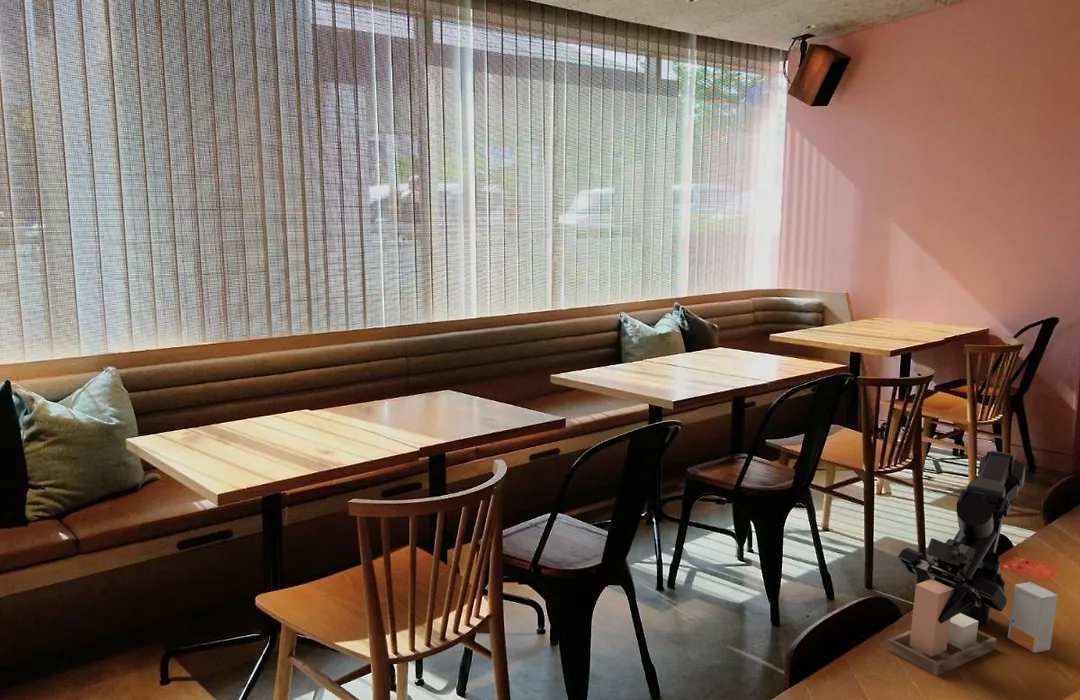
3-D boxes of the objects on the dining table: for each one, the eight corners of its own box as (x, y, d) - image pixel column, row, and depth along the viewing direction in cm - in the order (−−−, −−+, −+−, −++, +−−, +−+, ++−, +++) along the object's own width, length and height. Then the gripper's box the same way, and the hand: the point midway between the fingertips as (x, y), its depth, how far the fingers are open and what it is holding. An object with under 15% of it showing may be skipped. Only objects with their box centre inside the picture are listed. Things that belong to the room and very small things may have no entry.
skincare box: (1005, 642, 160) (1013, 583, 158) (1022, 638, 162) (1029, 581, 160) (1034, 658, 155) (1042, 598, 153) (1050, 654, 156) (1059, 594, 154)
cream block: (950, 634, 161) (953, 609, 160) (975, 645, 157) (978, 621, 156) (934, 640, 158) (937, 616, 157) (959, 652, 154) (962, 627, 153)
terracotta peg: (924, 638, 156) (930, 579, 154) (946, 650, 152) (953, 588, 150) (909, 645, 153) (916, 584, 151) (931, 656, 150) (939, 594, 148)
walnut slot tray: (944, 630, 164) (946, 616, 164) (994, 653, 156) (996, 639, 155) (885, 654, 155) (887, 639, 154) (936, 680, 146) (937, 665, 146)
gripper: (908, 507, 158) (865, 573, 155) (1005, 541, 143) (961, 616, 139) (929, 538, 164) (888, 603, 160) (1024, 574, 148) (982, 647, 145)
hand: (927, 616), depth 151 cm, fingers closed on terracotta peg, 4 cm apart
